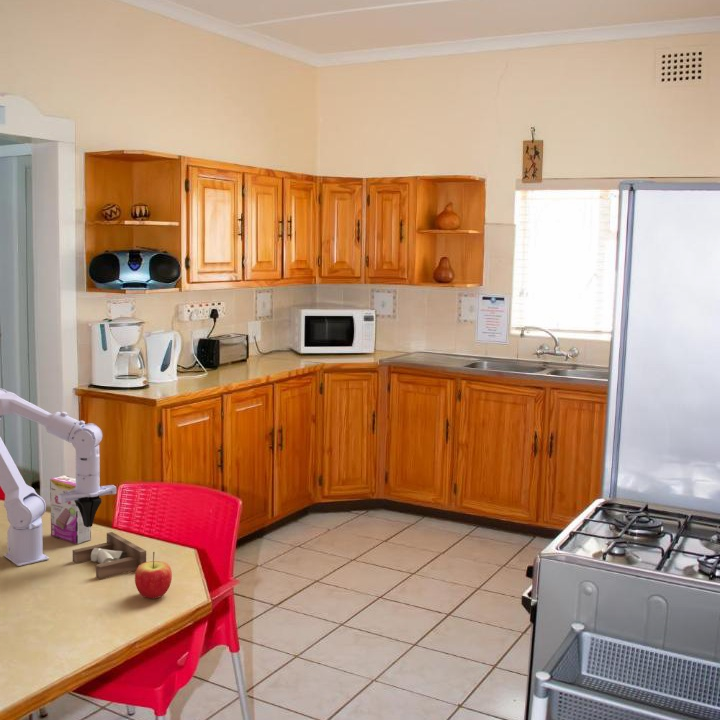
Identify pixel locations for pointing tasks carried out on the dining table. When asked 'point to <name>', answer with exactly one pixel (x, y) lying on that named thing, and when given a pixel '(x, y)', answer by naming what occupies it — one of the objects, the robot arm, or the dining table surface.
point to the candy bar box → (66, 513)
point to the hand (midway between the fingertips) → (88, 525)
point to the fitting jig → (117, 567)
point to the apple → (153, 578)
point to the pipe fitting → (106, 555)
